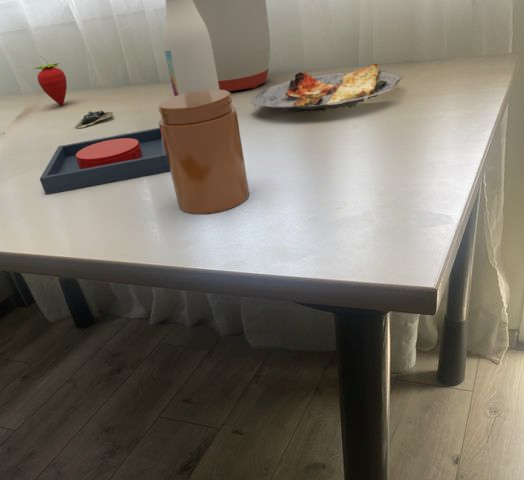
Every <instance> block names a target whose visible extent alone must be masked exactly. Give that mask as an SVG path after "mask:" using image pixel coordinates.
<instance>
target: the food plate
mask: <svg viewBox="0 0 524 480" xmlns="http://www.w3.org/2000/svg"><path fill="white" fill-rule="evenodd" d="M294 77H295V78H294V79H290V80H289V81H286V82H285V81H284V82H281V83H280V84H277V85H273V86H269V87H267V88H265V89H264V90H261V91H260V92H259V93H257V94H256V95H255V96H253V97H252V98H250V104H251V106H253V107H255V108H257V107H260V108H261V107H267V108H268V109H269V110H275V109H276V110H277V109H278V110H281V111H283V112H290V113H291V112H292V113H310V112H325V111H327V110H337V109H342V108H343V109H346V108H350V109H352V108H353V107H356V106H357V105H358V104H359V103H364V101H365V99H366V98H367V100H370V99H371V98H372V99H373V98H376V97H378V96H379V95H380V94H384V93H387V92H389V91H390V92H391V91H392V90H393V89H394V88H395V87H396V86H397V85H398V84H399V83H400V81H401V80H402V79H403V77H404V76H402V74H399V73H397V72H391V71H386V70H381V67H380V65H379V64H378V63H373V64H370V65H368V66H366V67H362V68H360V69H357V70H351V71H337V72H326V73H322V74H316V75H310V74H308V73H306V71H303V72H298V73H295V75H294Z"/></svg>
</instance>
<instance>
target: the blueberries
mask: <svg viewBox="0 0 524 480" xmlns="http://www.w3.org/2000/svg"><path fill="white" fill-rule="evenodd" d="M113 117H114V112H113V111H107V112H106V111H104V110H96V111H95V110H94V111H91V110H90V111H88V112H87V114H84V115H83V117H82V119H80V120H79V121H78V122H77V123H76V125H75V126H74V127H75V129H82V128H85V127H87V126H91V125H94V124H96V123H97V122H98V121H102V120H105V119H107V120H108V119H111V118H113Z"/></svg>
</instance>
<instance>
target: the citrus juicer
mask: <svg viewBox="0 0 524 480" xmlns="http://www.w3.org/2000/svg"><path fill="white" fill-rule="evenodd" d="M193 2H194V4H195V7H196V9H197V11H198V13H199V14H200V16H201V18H202V19H203V21H204V23H205V25H206V27H207V30H208V33H209V36H210V40H211V45H212V50H213V56H214V61H215V67H216V73H217V78H218V84H219V90H226V91H228V92H233V91H240V90H245V89H247V90H252V89H256V88H258V86H259V85H262V84H264V83H265V82H266V81H267V78H268V74H269V69H270V68H269V64H270V58H271V57H270V56H271V40H270V39H271V38H270V37H271V36H270V26H269V18H268V17H269V16H268V9H267V1H266V0H193Z"/></svg>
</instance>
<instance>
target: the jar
mask: <svg viewBox="0 0 524 480" xmlns="http://www.w3.org/2000/svg"><path fill="white" fill-rule="evenodd" d="M232 102H233V99H232V93H231V92H230V91H226V90H203V91H196V92H190V93H185V94H181V95H177V96H174V95H173V96H171V97H169V98H167V99H164V100H163V101H161V102H160V103H158V112H159V113H160V117H161V118H160V119H159V120H158V126H159V128H160V130H161V134H162V139H163V143H164V147H165V151H166V155H167V159H168V163H169V167H170V171H169V172H170V175H171V180H172V183H173V188H174V192H175V196H176V200H177V204H178V207H179V209H180V210H181V211H182V212H185V213H188V214H192V215H193V214H194V215H206V214H214V213H215V214H216V213H219V212H224V211H227V210H231V209H233V208H235V207H237V206H240V205H242V204H243V203H245V201H246V200H248V198H249V196H250V190H249V184H248V183H249V182H248V177H247V171H246V165H245V163H246V162H245V157H244V152H243V146H242V138H241V132H240V126H239V118H238V113H237V108H236V106H234V105H232Z"/></svg>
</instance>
